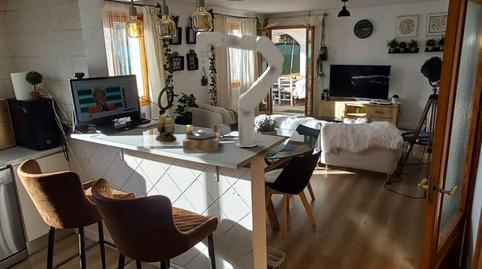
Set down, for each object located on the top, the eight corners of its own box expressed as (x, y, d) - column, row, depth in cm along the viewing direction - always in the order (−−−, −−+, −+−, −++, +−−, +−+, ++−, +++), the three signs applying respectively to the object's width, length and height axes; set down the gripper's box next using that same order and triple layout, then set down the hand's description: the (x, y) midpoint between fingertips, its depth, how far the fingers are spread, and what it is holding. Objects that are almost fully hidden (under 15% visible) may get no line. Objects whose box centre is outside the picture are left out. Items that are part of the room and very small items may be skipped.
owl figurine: (182, 139, 228) (180, 114, 225) (167, 143, 220) (165, 116, 216) (166, 135, 240) (164, 111, 237) (151, 139, 232) (149, 113, 228)
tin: (228, 134, 241) (227, 123, 239) (231, 135, 239) (231, 123, 237) (213, 138, 229) (212, 126, 228) (216, 139, 227) (216, 127, 226)
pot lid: (217, 132, 218) (216, 122, 217) (215, 139, 200) (215, 128, 199) (188, 133, 218) (187, 122, 216) (184, 139, 200) (184, 128, 199)
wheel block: (218, 142, 220) (218, 132, 219) (217, 150, 201) (217, 140, 200) (187, 142, 220) (186, 133, 219) (183, 151, 200) (182, 140, 199)
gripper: (209, 54, 189) (210, 86, 193) (210, 55, 206) (211, 84, 210) (195, 55, 189) (196, 86, 193) (198, 55, 206) (199, 84, 210)
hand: (204, 85), depth 202 cm, fingers open, 9 cm apart
